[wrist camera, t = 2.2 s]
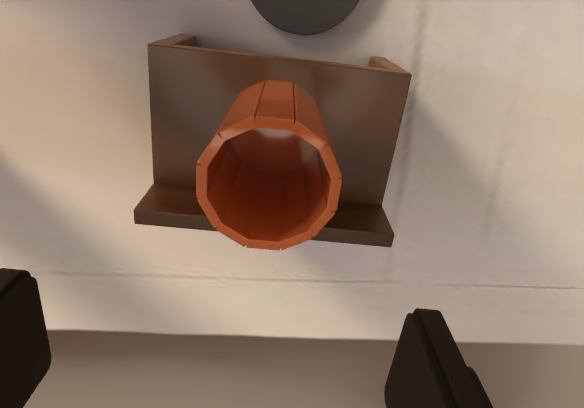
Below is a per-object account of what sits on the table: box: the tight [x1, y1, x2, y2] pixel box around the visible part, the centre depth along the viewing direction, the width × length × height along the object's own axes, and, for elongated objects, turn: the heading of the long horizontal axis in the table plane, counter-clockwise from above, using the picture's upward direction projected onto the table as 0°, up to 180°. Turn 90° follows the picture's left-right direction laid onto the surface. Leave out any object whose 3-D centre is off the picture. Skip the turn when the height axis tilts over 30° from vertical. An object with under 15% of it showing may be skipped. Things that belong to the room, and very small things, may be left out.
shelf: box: [134, 34, 412, 247], centre depth 28 cm, size 10×16×12 cm, turn 84°
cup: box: [196, 79, 342, 250], centre depth 22 cm, size 6×6×9 cm
